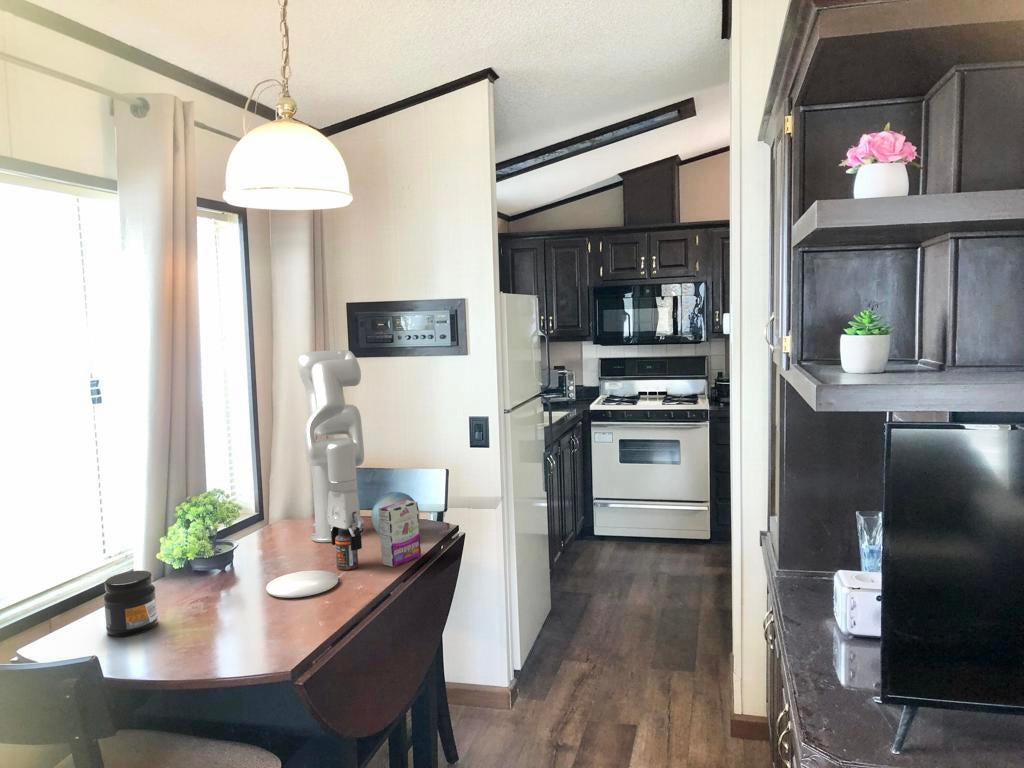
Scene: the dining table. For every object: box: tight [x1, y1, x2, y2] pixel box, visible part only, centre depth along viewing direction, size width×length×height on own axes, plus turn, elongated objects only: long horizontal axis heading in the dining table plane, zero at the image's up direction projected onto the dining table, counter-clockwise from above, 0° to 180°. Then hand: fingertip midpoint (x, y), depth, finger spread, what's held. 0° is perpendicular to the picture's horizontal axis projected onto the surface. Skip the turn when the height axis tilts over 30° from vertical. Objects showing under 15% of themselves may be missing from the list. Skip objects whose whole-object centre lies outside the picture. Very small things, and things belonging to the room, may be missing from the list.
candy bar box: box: [379, 500, 422, 568], centre depth 203 cm, size 11×5×16 cm, turn 143°
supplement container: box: [102, 570, 159, 637], centre depth 163 cm, size 10×10×12 cm
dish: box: [265, 569, 339, 599], centre depth 186 cm, size 18×18×1 cm
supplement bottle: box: [335, 528, 359, 571], centre depth 200 cm, size 6×6×11 cm
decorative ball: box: [371, 491, 421, 536], centre depth 225 cm, size 15×15×15 cm
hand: (346, 546), depth 199 cm, fingers open, 9 cm apart
